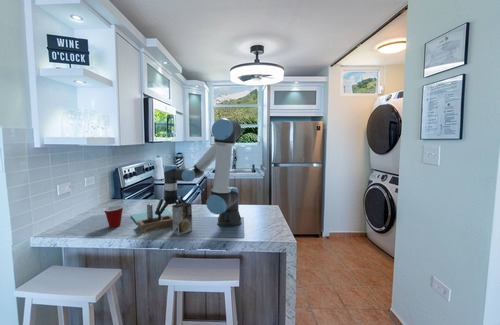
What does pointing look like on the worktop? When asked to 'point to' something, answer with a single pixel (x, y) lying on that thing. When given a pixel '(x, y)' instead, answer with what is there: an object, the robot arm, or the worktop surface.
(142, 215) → the teal pad
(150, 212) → the metal post
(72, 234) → the worktop surface
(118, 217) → the plastic cup
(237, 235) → the worktop surface
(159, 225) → the walnut link
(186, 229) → the coffee box
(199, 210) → the worktop surface
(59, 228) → the worktop surface
